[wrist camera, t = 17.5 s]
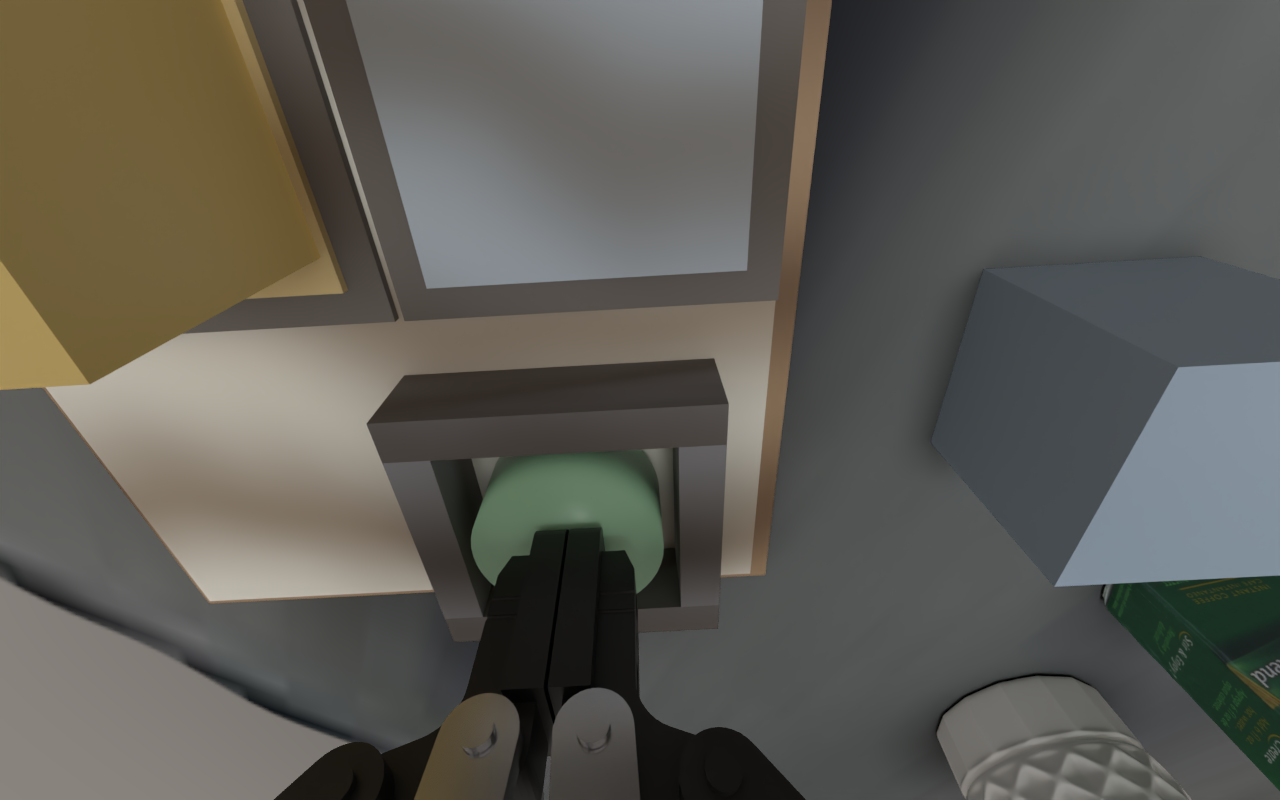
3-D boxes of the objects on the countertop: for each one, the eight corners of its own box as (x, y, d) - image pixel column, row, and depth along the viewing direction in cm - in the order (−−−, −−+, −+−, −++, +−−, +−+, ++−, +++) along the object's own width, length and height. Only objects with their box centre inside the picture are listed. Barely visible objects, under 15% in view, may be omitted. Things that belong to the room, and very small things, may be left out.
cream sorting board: (-534, -440, 6) (-1287, -782, 4) (879, -540, 6) (1049, -969, 4) (222, 587, 17) (149, 676, 14) (760, 560, 17) (785, 644, 14)
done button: (474, 428, 12) (449, 483, 11) (656, 418, 12) (660, 472, 11) (508, 554, 15) (492, 616, 13) (661, 546, 15) (666, 607, 13)
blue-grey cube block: (981, 268, 12) (1177, 367, 8) (1197, 255, 12) (1516, 348, 8) (929, 440, 14) (1054, 586, 10) (1105, 431, 14) (1305, 574, 10)
